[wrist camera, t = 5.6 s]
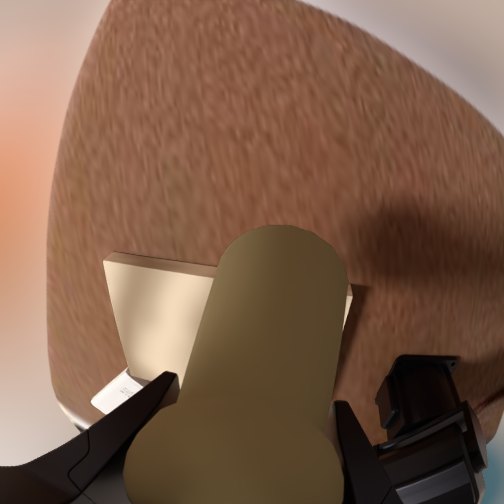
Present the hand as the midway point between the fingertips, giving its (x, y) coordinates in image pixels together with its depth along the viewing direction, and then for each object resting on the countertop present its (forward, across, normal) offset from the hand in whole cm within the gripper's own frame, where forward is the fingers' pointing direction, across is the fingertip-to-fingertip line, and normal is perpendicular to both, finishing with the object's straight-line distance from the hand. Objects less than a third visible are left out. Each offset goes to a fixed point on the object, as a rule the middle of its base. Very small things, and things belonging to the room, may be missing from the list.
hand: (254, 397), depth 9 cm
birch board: (+13, +4, +10) cm, 16 cm away
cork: (+6, 0, 0) cm, 6 cm away
